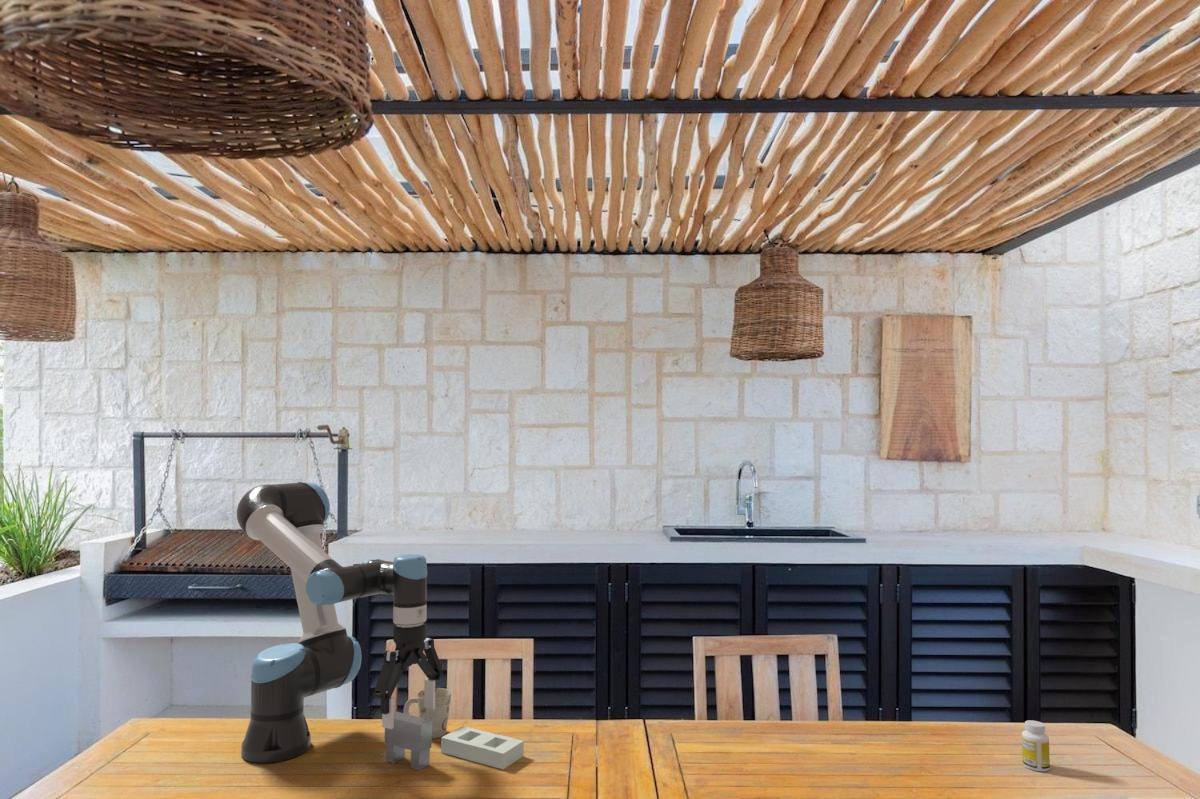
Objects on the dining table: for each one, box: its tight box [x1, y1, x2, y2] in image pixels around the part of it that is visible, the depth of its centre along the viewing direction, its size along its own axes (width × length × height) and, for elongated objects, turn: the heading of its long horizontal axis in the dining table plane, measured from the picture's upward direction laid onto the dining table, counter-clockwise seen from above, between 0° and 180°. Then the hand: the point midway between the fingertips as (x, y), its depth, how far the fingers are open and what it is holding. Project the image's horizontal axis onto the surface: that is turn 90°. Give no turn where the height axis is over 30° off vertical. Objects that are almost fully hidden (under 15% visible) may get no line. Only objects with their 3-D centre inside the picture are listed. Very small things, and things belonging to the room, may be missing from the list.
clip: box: [384, 711, 433, 771], centre depth 171 cm, size 11×4×10 cm, turn 61°
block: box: [440, 725, 525, 770], centre depth 176 cm, size 18×8×4 cm, turn 61°
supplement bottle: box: [1021, 719, 1051, 772], centre depth 171 cm, size 5×5×10 cm
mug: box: [403, 687, 452, 739], centre depth 188 cm, size 8×13×10 cm, turn 78°
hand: (409, 717), depth 171 cm, fingers open, 13 cm apart
